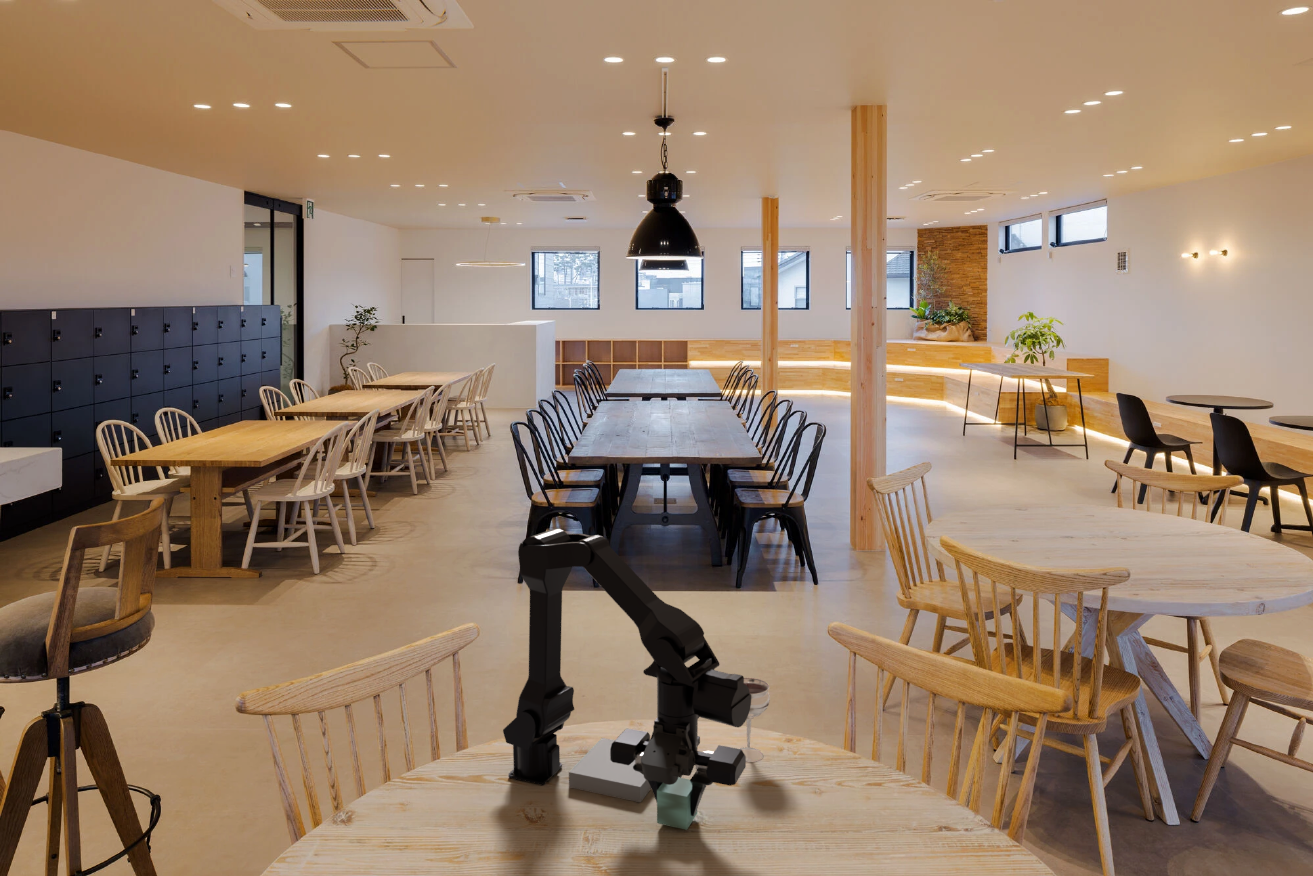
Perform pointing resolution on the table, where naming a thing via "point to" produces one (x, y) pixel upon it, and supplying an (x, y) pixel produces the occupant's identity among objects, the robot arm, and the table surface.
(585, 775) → the plinth
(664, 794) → the teal block
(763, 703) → the wineglass
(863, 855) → the table surface
